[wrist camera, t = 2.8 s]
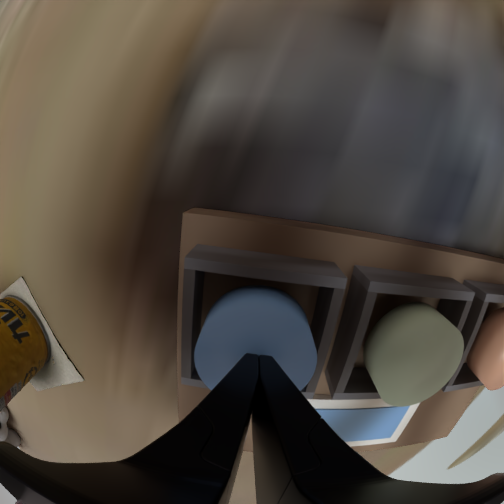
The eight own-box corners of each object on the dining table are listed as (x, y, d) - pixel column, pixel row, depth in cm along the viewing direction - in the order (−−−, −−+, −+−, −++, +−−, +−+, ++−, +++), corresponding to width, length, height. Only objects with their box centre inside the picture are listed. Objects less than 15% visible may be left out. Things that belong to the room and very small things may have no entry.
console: (509, 260, 13) (547, 279, 9) (437, 421, 17) (456, 452, 13) (194, 207, 13) (167, 219, 9) (186, 420, 17) (173, 464, 13)
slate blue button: (318, 292, 10) (330, 317, 8) (297, 377, 11) (302, 409, 9) (208, 277, 10) (196, 300, 8) (202, 366, 11) (193, 397, 9)
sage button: (452, 304, 10) (477, 323, 8) (422, 377, 11) (438, 401, 9) (379, 298, 10) (400, 321, 8) (351, 379, 11) (363, 409, 9)
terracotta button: (522, 307, 10) (543, 321, 8) (496, 367, 11) (512, 384, 9) (485, 306, 10) (508, 323, 8) (455, 373, 11) (473, 395, 9)
